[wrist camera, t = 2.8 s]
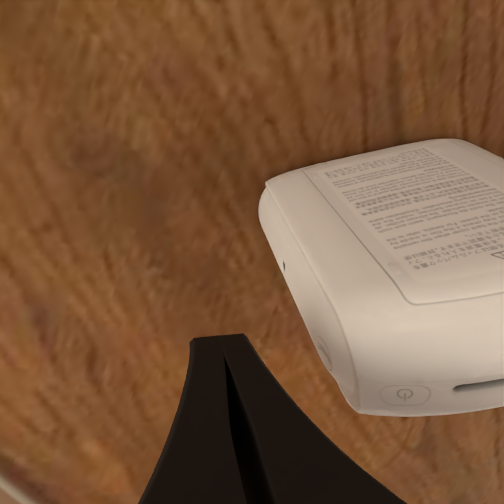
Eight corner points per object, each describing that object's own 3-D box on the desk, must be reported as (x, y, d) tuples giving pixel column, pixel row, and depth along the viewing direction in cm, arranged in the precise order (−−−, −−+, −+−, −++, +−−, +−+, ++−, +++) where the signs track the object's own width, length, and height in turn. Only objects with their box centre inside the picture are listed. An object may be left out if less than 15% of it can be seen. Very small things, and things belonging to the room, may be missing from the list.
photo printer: (262, 254, 22) (360, 486, 12) (247, 173, 20) (352, 366, 10) (457, 207, 23) (715, 383, 12) (463, 124, 21) (781, 251, 10)
